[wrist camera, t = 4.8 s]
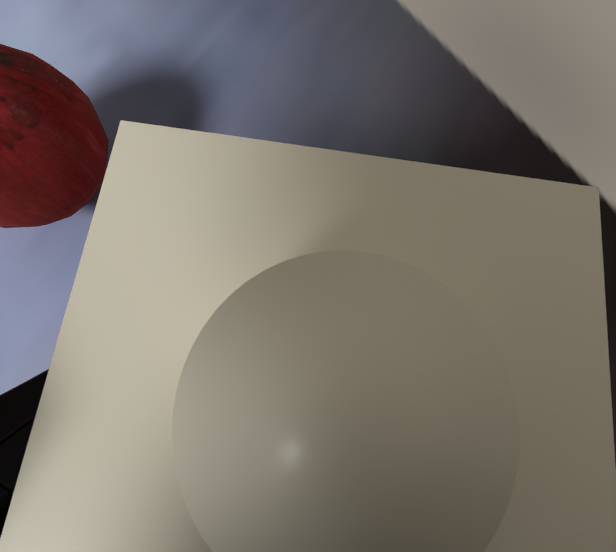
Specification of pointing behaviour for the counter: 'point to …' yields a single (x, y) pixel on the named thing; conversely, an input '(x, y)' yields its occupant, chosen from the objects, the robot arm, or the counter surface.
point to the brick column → (324, 360)
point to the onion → (45, 143)
